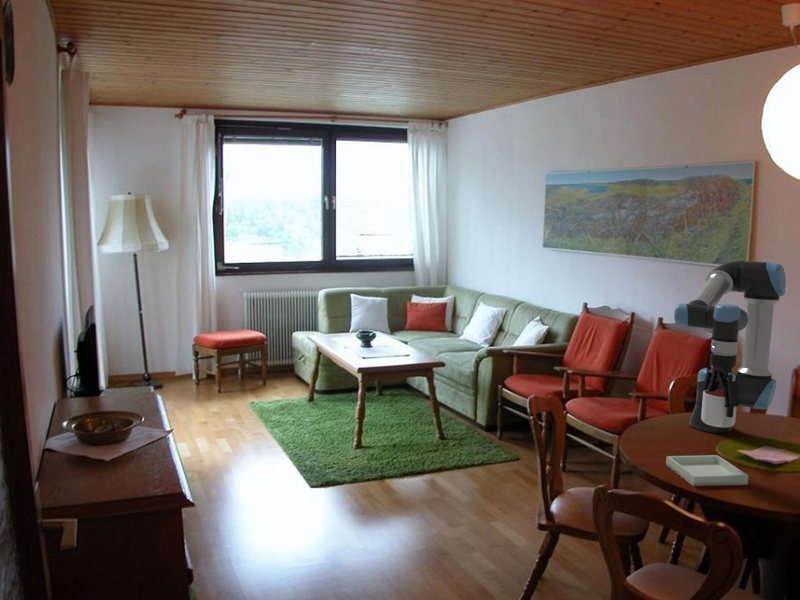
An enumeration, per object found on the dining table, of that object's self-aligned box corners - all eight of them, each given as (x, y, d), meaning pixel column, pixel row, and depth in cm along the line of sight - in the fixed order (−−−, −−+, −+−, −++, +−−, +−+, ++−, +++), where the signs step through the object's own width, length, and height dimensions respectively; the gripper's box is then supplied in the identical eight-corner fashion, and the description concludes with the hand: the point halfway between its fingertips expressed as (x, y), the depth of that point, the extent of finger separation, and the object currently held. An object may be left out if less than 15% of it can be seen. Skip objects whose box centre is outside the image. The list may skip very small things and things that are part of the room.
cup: (736, 423, 230) (739, 392, 229) (732, 430, 222) (735, 399, 221) (703, 417, 236) (705, 388, 234) (698, 424, 227) (700, 394, 226)
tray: (716, 463, 236) (717, 455, 236) (747, 484, 219) (748, 475, 218) (665, 465, 234) (666, 456, 234) (693, 486, 217) (693, 476, 216)
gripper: (693, 346, 237) (688, 411, 239) (732, 360, 214) (726, 432, 217) (715, 346, 238) (709, 411, 240) (756, 361, 215) (749, 432, 218)
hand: (717, 421), depth 229 cm, fingers closed on cup, 10 cm apart
